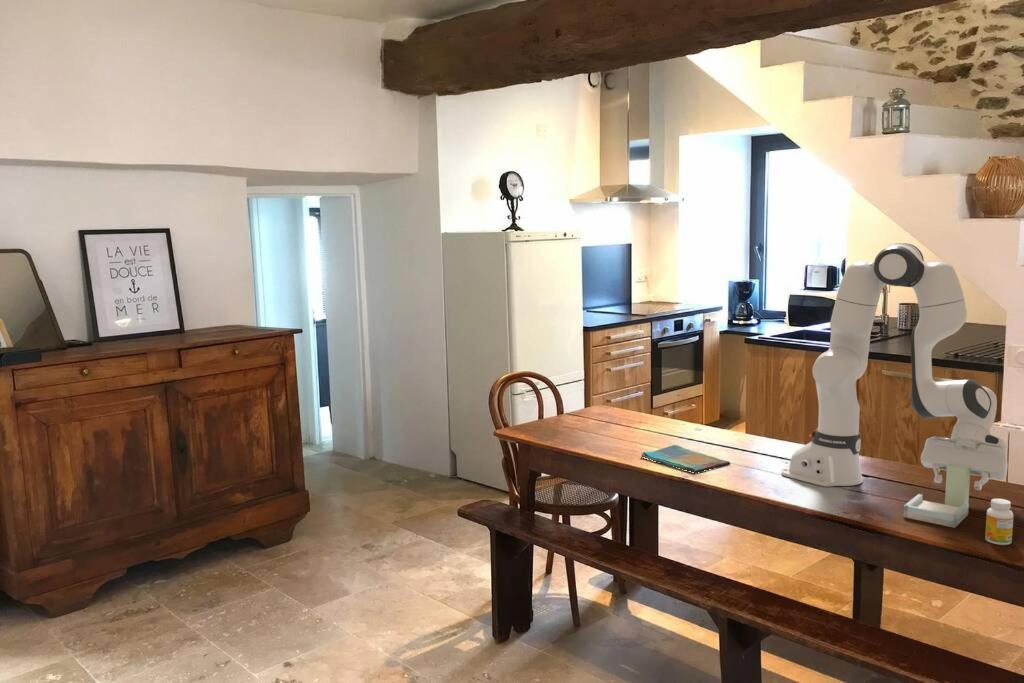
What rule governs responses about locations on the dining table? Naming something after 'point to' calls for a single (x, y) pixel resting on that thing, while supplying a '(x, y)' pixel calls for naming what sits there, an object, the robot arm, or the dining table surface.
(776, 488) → the dining table surface
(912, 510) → the holder
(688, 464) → the dish towel
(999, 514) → the supplement bottle
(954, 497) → the green block
